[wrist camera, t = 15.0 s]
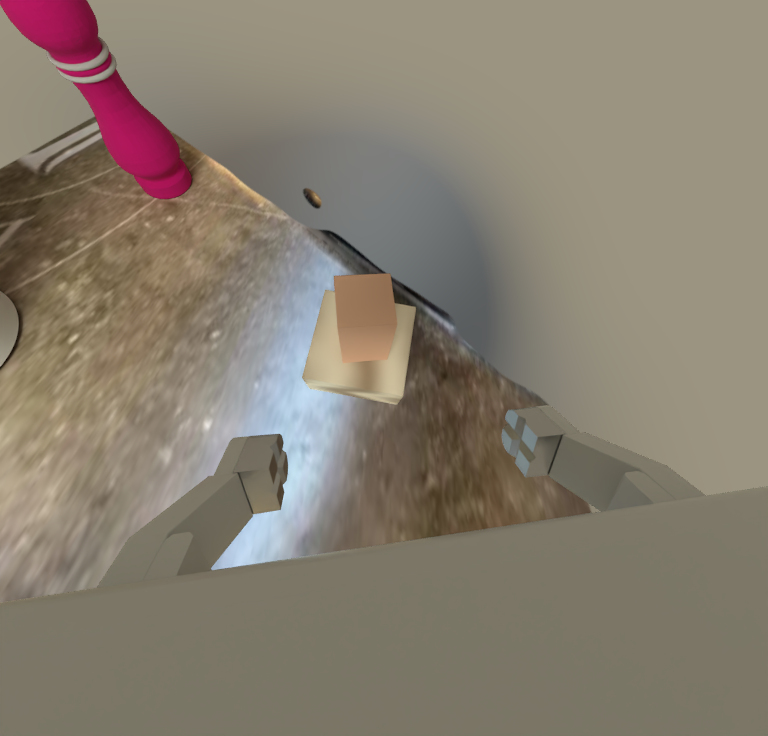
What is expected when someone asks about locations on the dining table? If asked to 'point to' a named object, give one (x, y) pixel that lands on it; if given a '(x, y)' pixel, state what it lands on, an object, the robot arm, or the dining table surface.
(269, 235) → the dining table surface
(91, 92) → the pepper mill
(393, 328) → the terracotta block
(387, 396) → the birch block
